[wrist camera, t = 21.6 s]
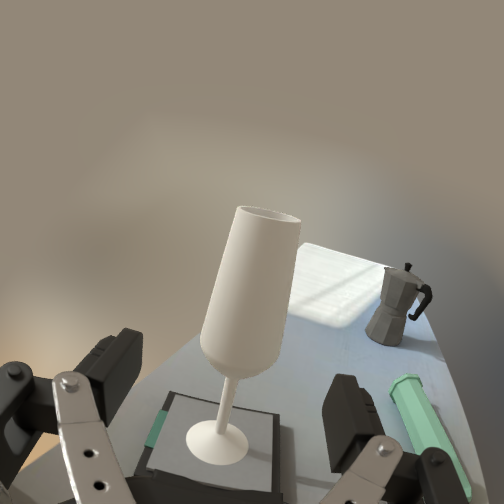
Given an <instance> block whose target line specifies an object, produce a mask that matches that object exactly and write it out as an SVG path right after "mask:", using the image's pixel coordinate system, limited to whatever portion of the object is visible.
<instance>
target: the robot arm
mask: <svg viewBox="0 0 504 504" xmlns="http://www.w3.org/2000/svg"><path fill="white" fill-rule="evenodd" d="M142 348H143V334H142V333H141V332H138V331H135V330H132V329H128V328H124V329H123V330H122V331H121V332H120V333H119V335H118V336H117V337H115V336H112V335H110V336H108V337H106V338H104V339H102V340H100V341H99V342H98V344H97V345H96V346H95V348H93V349H92V350H91V351H90V353H89V354H88V355H87V356H86V357H85V358H84V359H83V360H82V361H81V362H80V363H79V365H78V366H77V367H76V368H75V369H74V370H73V371H66V372H62V373H60V374H58V375H56V376H55V377H54V379H46V378H41V377H36V376H33V373H32V370H31V368H30V367H29V366H28V365H27V364H25V363H23V362H18V361H15V362H8V363H6V364H4V365H3V366H2V367H1V368H0V504H12V499H11V496H10V494H9V492H8V491H7V490H8V488H9V487H10V485H11V483H12V482H13V480H14V478H15V477H16V475H17V473H18V472H19V470H20V468H21V466H22V465H23V463H24V462H25V460H26V459H27V457H28V456H29V454H30V452H31V451H32V449H33V447H34V446H35V444H36V443H37V441H38V440H39V438H40V437H41V435H42V434H43V432H45V433H51V434H55V435H59V438H60V443H61V447H62V452H63V456H64V460H65V464H66V468H67V472H68V476H69V480H70V483H71V487H72V490H73V494H74V497H75V498H72V499H70V500H67V501H64V502H61V503H58V504H288V503H286V502H283V493H274V492H266V491H258V490H233V491H218V490H215V489H212V488H210V487H207V486H205V485H203V484H200V483H198V482H196V481H194V480H192V479H189V478H187V477H184V476H180V475H176V474H173V473H169V472H165V471H162V470H158V469H155V470H154V473H153V475H152V476H132V477H126V478H125V477H124V475H123V473H122V470H121V468H120V465H119V463H118V460H117V458H116V455H115V453H114V450H113V447H112V445H111V442H110V439H109V436H108V434H107V431H106V428H105V427H107V428H108V426H109V424H110V423H111V421H112V419H113V418H114V416H115V414H116V413H117V411H118V409H119V407H120V406H121V404H122V402H123V401H124V399H125V397H126V396H127V394H128V392H129V391H130V389H131V387H132V386H133V384H134V382H135V380H136V379H137V378H138V375H139V373H140V370H141V365H142ZM322 417H323V423H324V429H325V435H326V442H327V448H328V454H329V461H330V467H331V473H342V477H341V478H340V479H339V481H338V482H337V483H336V484H335V485H334V487H333V488H332V489H331V490H330V491H329V493H328V494H327V495H326V496H325V497H324V498H323V500H322V501H321V502H320V503H319V504H378V503H379V501H380V500H383V501H387V503H388V504H424V500H423V496H424V499H425V503H426V504H469V502H468V499H467V497H466V494H465V491H464V489H463V486H462V484H461V481H460V479H459V476H458V474H457V471H456V469H455V467H454V464H453V462H452V459H451V457H450V456H449V454H448V453H447V452H446V451H444V450H443V449H440V448H438V447H428V448H426V449H425V450H424V451H423V452H422V453H421V455H416V454H412V453H408V452H404V451H403V449H402V447H401V445H400V444H399V443H398V442H397V441H396V440H395V439H393V438H391V437H389V436H386V435H385V432H384V429H383V427H382V424H381V421H380V418H379V416H378V413H377V410H376V408H375V406H374V402H373V400H372V397H371V395H370V394H369V393H368V392H367V391H366V390H365V389H364V388H359V385H358V383H357V380H356V377H355V376H353V375H345V374H336V375H335V377H334V379H333V382H332V384H331V386H330V389H329V391H328V393H327V396H326V398H325V400H324V403H323V407H322Z"/></svg>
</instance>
